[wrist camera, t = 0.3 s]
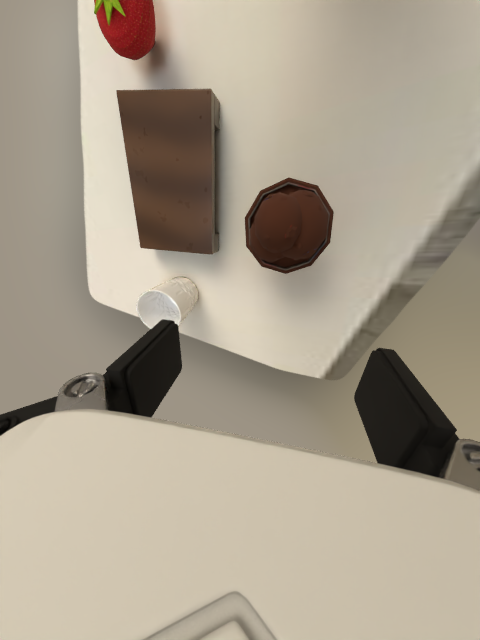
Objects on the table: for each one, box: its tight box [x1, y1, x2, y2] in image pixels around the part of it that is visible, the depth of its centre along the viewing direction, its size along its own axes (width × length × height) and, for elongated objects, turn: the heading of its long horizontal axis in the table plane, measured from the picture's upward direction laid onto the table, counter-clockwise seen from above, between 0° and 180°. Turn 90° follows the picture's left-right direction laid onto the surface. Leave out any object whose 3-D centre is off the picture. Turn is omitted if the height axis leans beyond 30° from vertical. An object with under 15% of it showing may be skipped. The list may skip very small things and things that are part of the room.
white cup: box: [137, 277, 198, 329], centre depth 40 cm, size 8×8×10 cm
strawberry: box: [94, 0, 155, 60], centre depth 24 cm, size 6×8×10 cm
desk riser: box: [117, 89, 220, 254], centre depth 34 cm, size 20×13×4 cm, turn 177°
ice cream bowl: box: [245, 178, 334, 274], centre depth 29 cm, size 11×11×15 cm
